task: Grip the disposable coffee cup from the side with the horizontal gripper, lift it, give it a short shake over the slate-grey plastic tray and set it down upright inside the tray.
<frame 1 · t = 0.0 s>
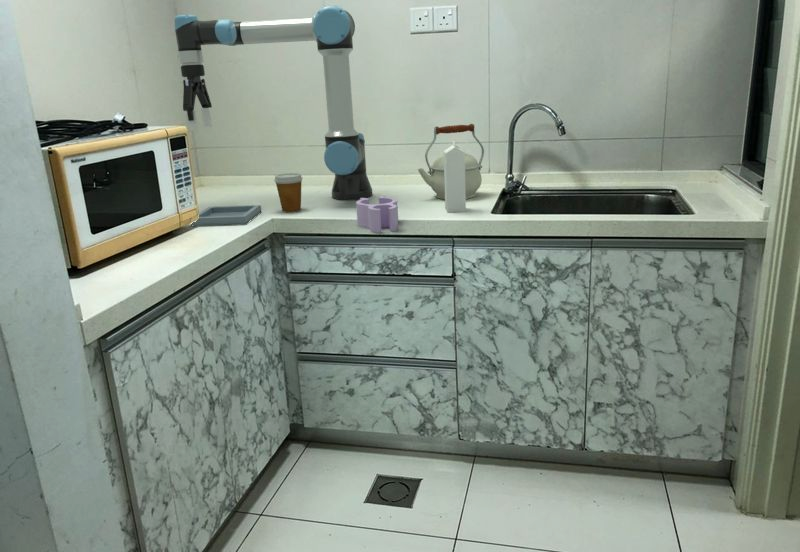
hand: (200, 128, 228), 28 cm above the countertop, tool pointing down, fingers open, 13 cm apart
milk: (455, 210, 213), on the countertop
tray: (227, 219, 217), on the countertop
kettle: (451, 197, 235), on the countertop
clip: (379, 226, 198), on the countertop
disposable coffee cup: (291, 210, 226), on the countertop
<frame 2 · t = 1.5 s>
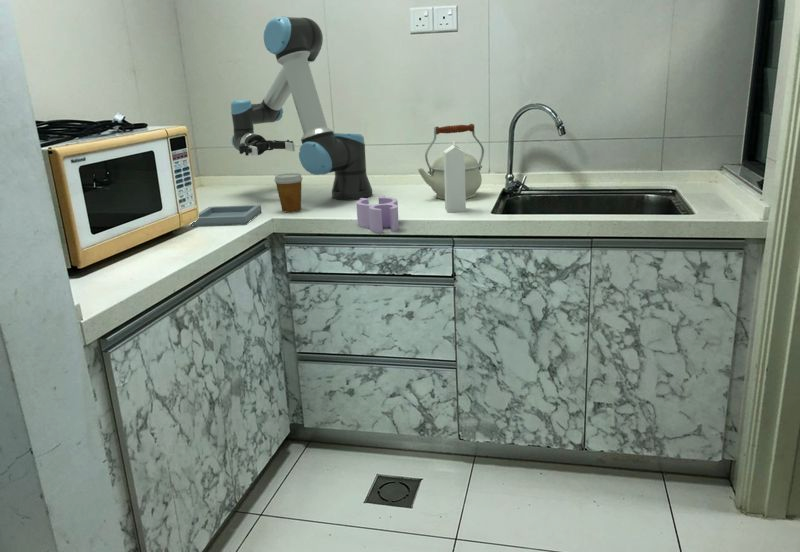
hand: (275, 149, 227), 20 cm above the countertop, tool horizontal, fingers open, 13 cm apart
nothing on the countertop moved.
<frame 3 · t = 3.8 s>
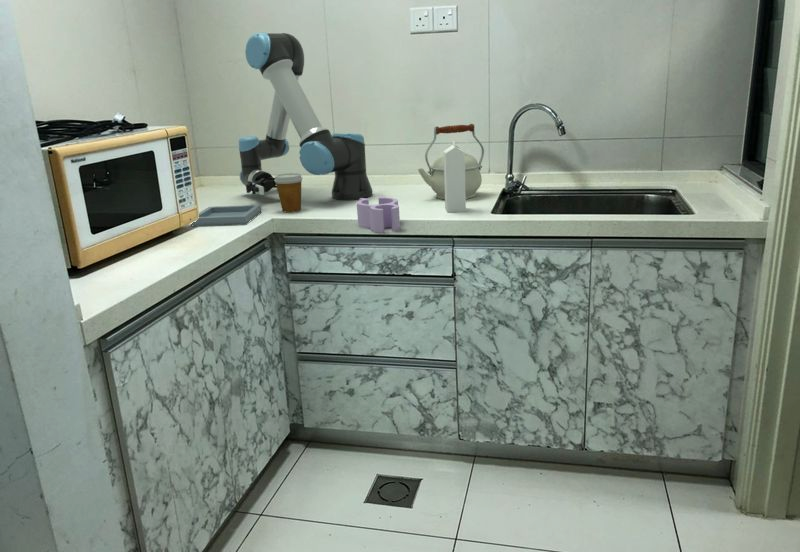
hand: (281, 188, 228), 7 cm above the countertop, tool horizontal, fingers open, 13 cm apart
nothing on the countertop moved.
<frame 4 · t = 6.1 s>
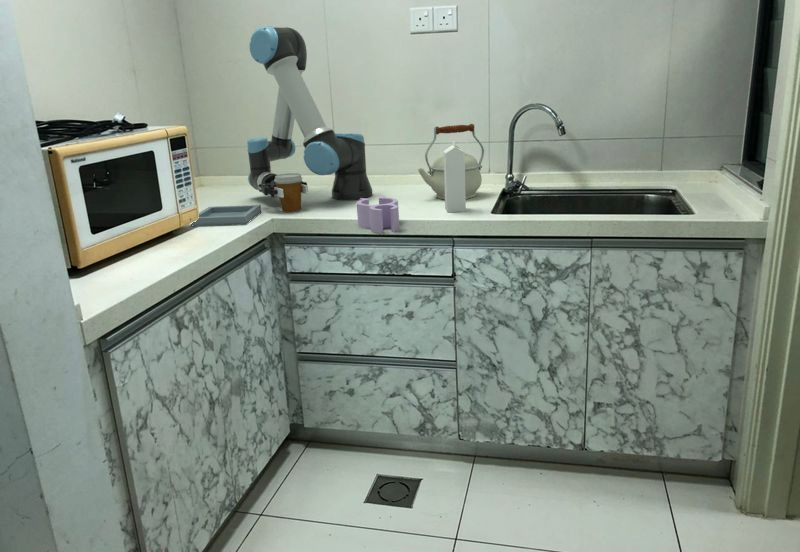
hand: (294, 191, 220), 7 cm above the countertop, tool horizontal, fingers closed on disposable coffee cup, 8 cm apart
disposable coffee cup: (291, 210, 226), on the countertop, touching gripper
everything else where it was.
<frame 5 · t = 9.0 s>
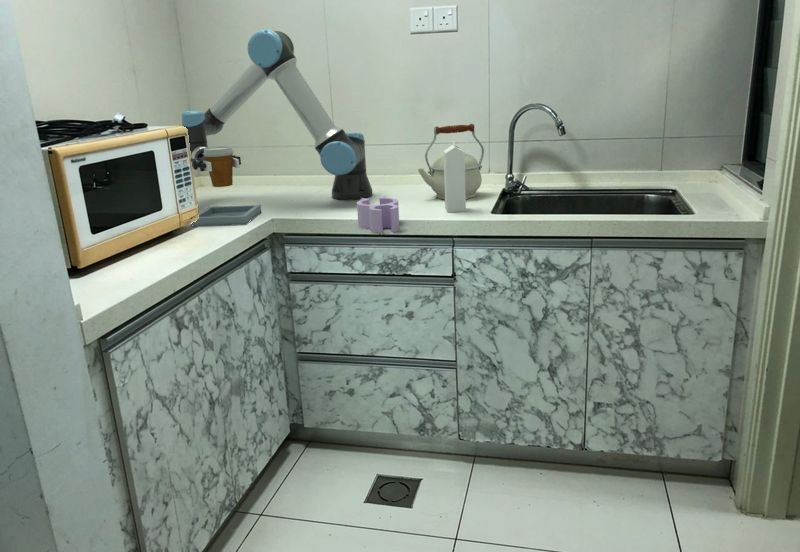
hand: (224, 165, 208), 18 cm above the countertop, tool horizontal, fingers closed on disposable coffee cup, 8 cm apart
disposable coffee cup: (222, 186, 214), point 11 cm above the countertop, touching gripper
everything else where it was.
when the fingers open (9 cm above the countertop, at t = 12.0 s): disposable coffee cup drops 1 cm, resting on tray.
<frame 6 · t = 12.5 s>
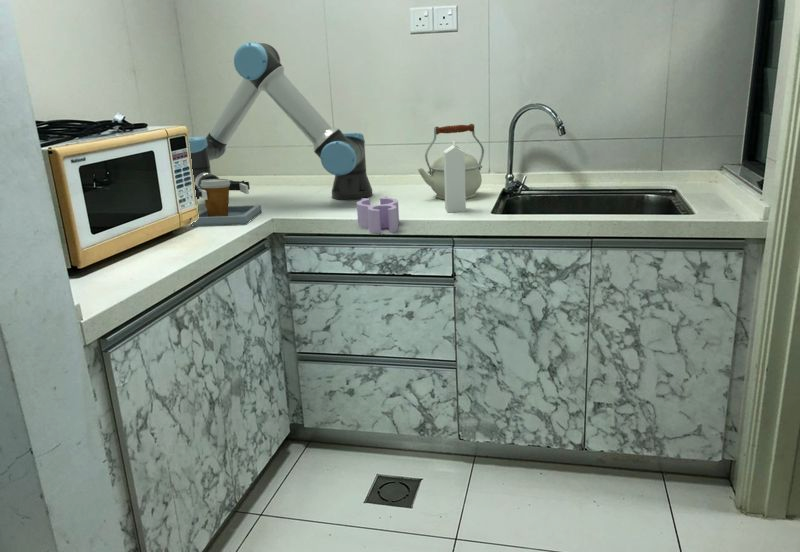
hand: (226, 192, 211), 9 cm above the countertop, tool horizontal, fingers open, 13 cm apart
disposable coffee cup: (218, 217, 216), point 1 cm above the countertop, touching gripper, tray
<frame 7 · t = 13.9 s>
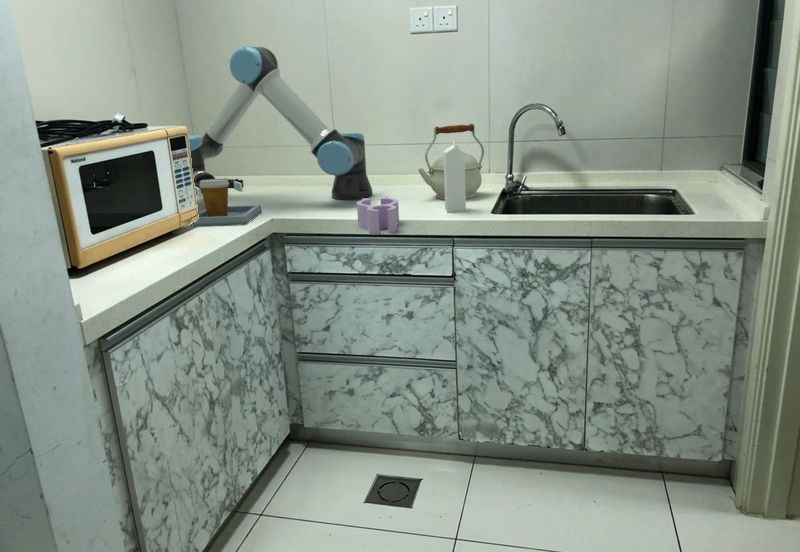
hand: (221, 190, 215), 9 cm above the countertop, tool horizontal, fingers open, 13 cm apart
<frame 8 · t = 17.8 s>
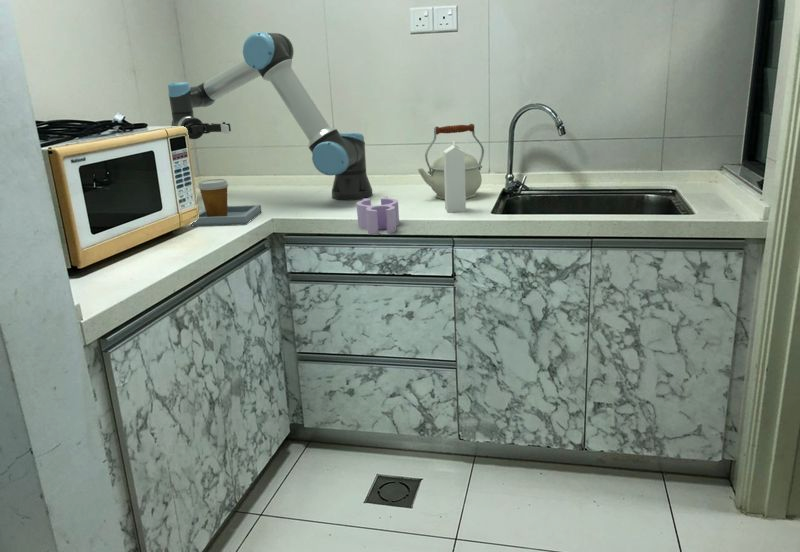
hand: (207, 131, 216), 28 cm above the countertop, tool horizontal, fingers open, 13 cm apart
disposable coffee cup: (217, 218, 216), point 1 cm above the countertop, touching tray
at the end: disposable coffee cup inside the target area on the tray (3.1 cm from its centre), point 0.6 cm above the tray's base; disposable coffee cup tilted 0°; the gripper is holding nothing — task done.
